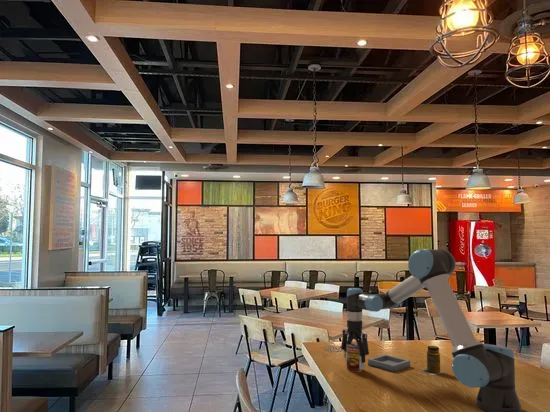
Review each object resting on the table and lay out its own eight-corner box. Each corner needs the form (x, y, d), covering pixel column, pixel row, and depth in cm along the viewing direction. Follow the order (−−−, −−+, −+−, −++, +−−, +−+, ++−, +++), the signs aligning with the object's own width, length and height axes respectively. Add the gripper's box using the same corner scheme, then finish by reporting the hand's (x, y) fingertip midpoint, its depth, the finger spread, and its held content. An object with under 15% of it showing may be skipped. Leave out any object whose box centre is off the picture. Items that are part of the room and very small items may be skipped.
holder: (393, 372, 200) (393, 365, 201) (368, 365, 212) (368, 359, 212) (410, 366, 210) (410, 360, 211) (385, 360, 222) (385, 354, 222)
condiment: (444, 372, 201) (443, 347, 202) (433, 375, 197) (432, 349, 198) (431, 368, 207) (430, 344, 208) (420, 371, 203) (419, 346, 204)
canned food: (344, 370, 202) (344, 345, 203) (349, 366, 209) (349, 342, 210) (360, 373, 198) (360, 347, 200) (364, 368, 205) (364, 344, 207)
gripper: (376, 322, 201) (376, 370, 199) (343, 316, 216) (343, 361, 214) (367, 323, 196) (367, 373, 194) (333, 317, 211) (333, 363, 209)
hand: (354, 367), depth 204 cm, fingers closed on canned food, 8 cm apart
